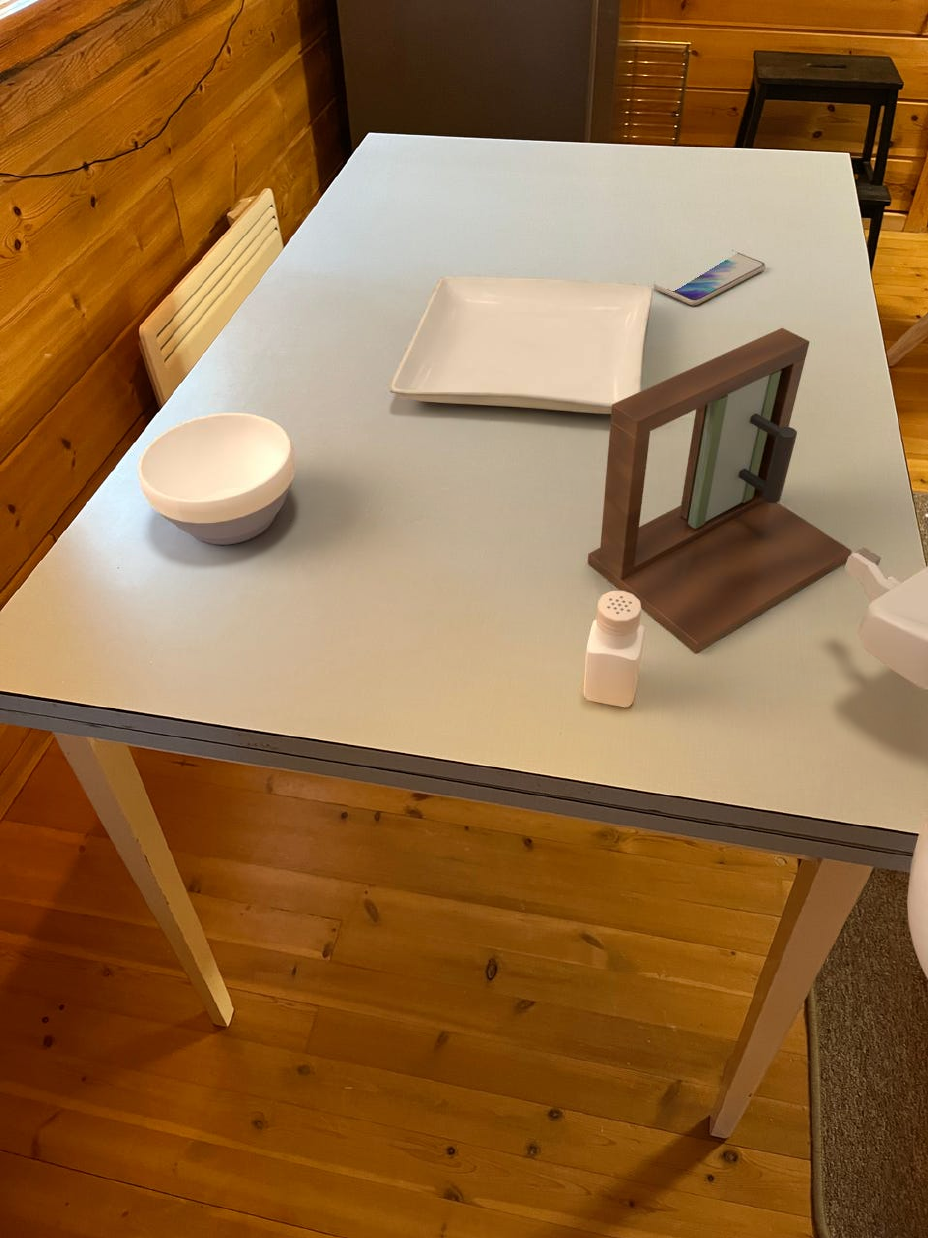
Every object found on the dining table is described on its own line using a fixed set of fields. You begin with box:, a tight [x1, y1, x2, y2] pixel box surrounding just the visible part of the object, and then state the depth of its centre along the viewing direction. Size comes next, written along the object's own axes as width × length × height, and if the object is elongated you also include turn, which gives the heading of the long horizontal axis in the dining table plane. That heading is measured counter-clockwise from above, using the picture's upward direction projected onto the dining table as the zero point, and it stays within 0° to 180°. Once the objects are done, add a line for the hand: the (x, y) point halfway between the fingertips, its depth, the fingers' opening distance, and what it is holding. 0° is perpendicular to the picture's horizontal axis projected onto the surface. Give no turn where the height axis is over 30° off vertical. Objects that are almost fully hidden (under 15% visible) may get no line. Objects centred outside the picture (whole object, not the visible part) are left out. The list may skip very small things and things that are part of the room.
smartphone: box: [653, 249, 766, 306], centre depth 122 cm, size 7×1×15 cm
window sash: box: [688, 370, 798, 529], centre depth 80 cm, size 5×7×14 cm
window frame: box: [587, 327, 853, 654], centre depth 78 cm, size 14×19×18 cm
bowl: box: [137, 412, 297, 545], centre depth 89 cm, size 14×14×8 cm
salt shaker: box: [582, 590, 646, 708], centre depth 71 cm, size 4×4×10 cm
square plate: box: [388, 276, 653, 415], centre depth 109 cm, size 27×27×4 cm
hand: (893, 533), depth 73 cm, fingers open, 8 cm apart
